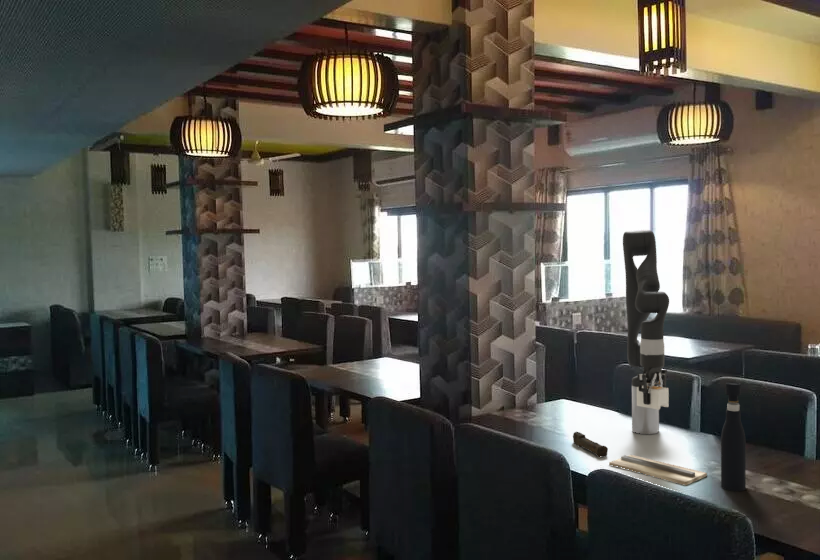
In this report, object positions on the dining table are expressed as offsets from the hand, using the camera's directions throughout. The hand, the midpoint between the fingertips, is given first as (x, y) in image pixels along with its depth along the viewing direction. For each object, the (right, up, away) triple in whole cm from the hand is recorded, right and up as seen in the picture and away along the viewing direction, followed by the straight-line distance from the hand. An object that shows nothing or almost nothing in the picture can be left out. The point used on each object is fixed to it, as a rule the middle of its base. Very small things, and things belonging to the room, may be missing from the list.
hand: (652, 402), depth 236 cm
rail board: (-4, -18, -15) cm, 24 cm away
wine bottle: (+12, -19, -32) cm, 39 cm away
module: (0, -1, 0) cm, 1 cm away
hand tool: (-20, -18, +8) cm, 28 cm away
